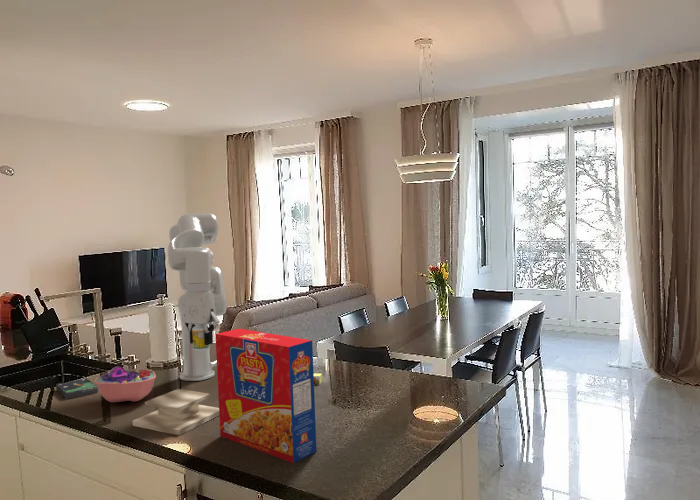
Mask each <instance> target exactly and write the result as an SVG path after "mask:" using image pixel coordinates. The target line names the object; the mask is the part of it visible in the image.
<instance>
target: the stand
mask: <svg viewBox="0 0 700 500" xmlns="http://www.w3.org/2000/svg"><path fill="white" fill-rule="evenodd" d="M209 398H211V393H206V392H201V391H194V390H187V389H181V388H177V389H175V390H172V391H169V392H167V393H164V394H162V395H159V396H156V397H154V398H151V399H149V400H147V401H144V406H147V407H153V408H157V410H155V411H153V412H152V411H151V412H150V413H148V414H145V415H143V416H141V417H138V418H136V419H133V420H132V426H133V427H137V428H142V429H147V430H152V431H157V432H161V433H166V434H171V435H176V436H181V435H182V434H185V433H187V432H189V431H191V430H193V429H196V428H197V427H200V426H201V425H203V424H205V422H206V423H208V422H210V421H211V419H212V420H214V419H215V417H216V418H217V416H218V417H219V407H215V406H211V405H210V406H208V405H203V404H199V403H200V402H203V401H206V400H207V399H209ZM213 418H214V419H213ZM209 420H210V421H209ZM207 421H208V422H207Z"/></svg>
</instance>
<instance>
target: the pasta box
mask: <svg viewBox="0 0 700 500" xmlns="http://www.w3.org/2000/svg"><path fill="white" fill-rule="evenodd" d="M214 336H215V351H216V353H215V355H216V356H215V357H216V361H217V366H216V374H217V375H216V376H217V390H218V391H217V393H218V395H217V396H218V408H219V416H218V417H219V431H220V432H219V433H220V434H219V435H220V437H221V436H222V438H224V437H225V438H224V439H226V438H228V439H227V440H229V439H230V441H232V440H233V442H235V441H236V442H235V443H237V442H238V444H240V443H241V444H240V445H243V444H244V445H243V446H245V445H246V447H248V446H249V448H251V449H254V450H257V451H259V452H262V453H265V454H268V455H271V456H273V457H276V458H279V459H281V460H283V461H287V462H289V463H292V464H295V463H296V462H299V461H301V460H303V459H304V458H306V457H309V456H311V455H312V454H314V453H316V452H317V449H318V448H317V431H316V428H317V426H316V406H315V405H316V403H315V402H316V401H315V399H316V398H315V384H314V354H313V353H314V352H313V351H314V350H313V339H312V340H311V339H306V338H300V337H293V336H286V335H282V334H275V333H270V332H269V333H268V332H263V331H256V330H251V329H245V328H235V329H231V330H227V331H223V332H219V333H215V335H214Z"/></svg>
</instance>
